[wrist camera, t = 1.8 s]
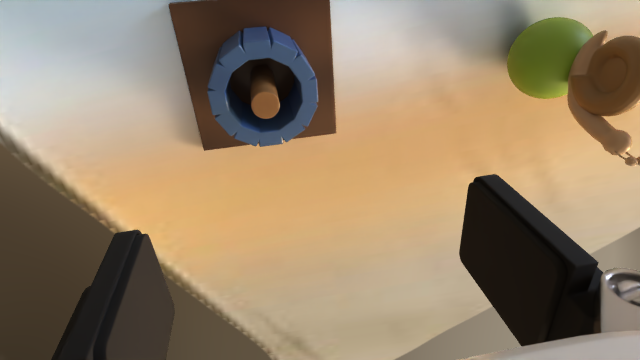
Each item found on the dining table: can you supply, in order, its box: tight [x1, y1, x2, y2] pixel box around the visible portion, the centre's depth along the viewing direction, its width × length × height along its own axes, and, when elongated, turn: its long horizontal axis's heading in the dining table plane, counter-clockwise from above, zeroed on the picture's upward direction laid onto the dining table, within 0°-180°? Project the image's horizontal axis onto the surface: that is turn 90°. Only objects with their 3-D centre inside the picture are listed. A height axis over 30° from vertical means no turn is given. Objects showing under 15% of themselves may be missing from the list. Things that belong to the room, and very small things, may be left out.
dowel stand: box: [169, 0, 336, 150], centre depth 25 cm, size 10×10×7 cm
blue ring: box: [207, 26, 318, 147], centre depth 25 cm, size 6×6×4 cm
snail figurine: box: [507, 17, 640, 166], centre depth 25 cm, size 5×6×12 cm
